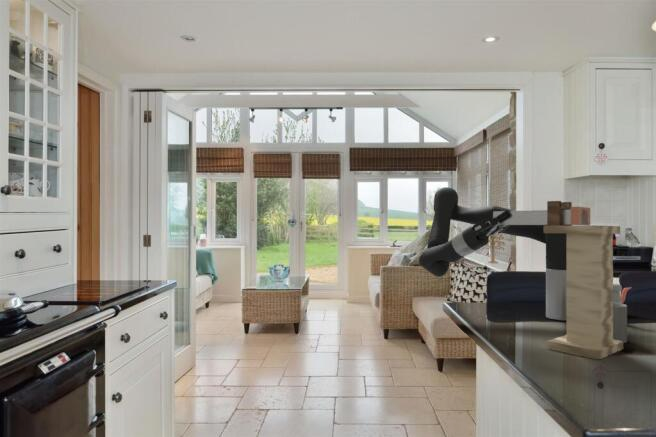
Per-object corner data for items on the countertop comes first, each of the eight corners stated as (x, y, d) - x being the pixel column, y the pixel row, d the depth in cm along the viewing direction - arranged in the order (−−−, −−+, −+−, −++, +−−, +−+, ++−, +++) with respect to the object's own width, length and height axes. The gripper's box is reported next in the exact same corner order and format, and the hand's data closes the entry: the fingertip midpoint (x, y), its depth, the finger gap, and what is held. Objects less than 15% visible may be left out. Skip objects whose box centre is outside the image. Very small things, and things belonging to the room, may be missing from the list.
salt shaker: (628, 324, 143) (627, 285, 143) (608, 323, 144) (608, 284, 145) (619, 321, 149) (619, 283, 149) (601, 320, 150) (601, 282, 150)
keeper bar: (502, 224, 136) (503, 210, 136) (590, 225, 116) (590, 207, 116) (490, 224, 131) (490, 209, 131) (578, 224, 112) (578, 206, 112)
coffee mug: (632, 344, 118) (632, 307, 118) (591, 341, 121) (591, 305, 121) (615, 333, 131) (615, 300, 131) (578, 330, 134) (578, 298, 134)
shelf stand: (566, 338, 124) (566, 203, 125) (623, 349, 113) (622, 201, 114) (539, 346, 114) (540, 200, 115) (598, 359, 103) (598, 198, 104)
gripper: (451, 230, 138) (494, 201, 126) (477, 230, 147) (519, 203, 135) (461, 251, 135) (507, 223, 123) (487, 250, 144) (531, 224, 132)
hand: (513, 213), depth 129 cm, fingers closed on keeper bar, 4 cm apart
